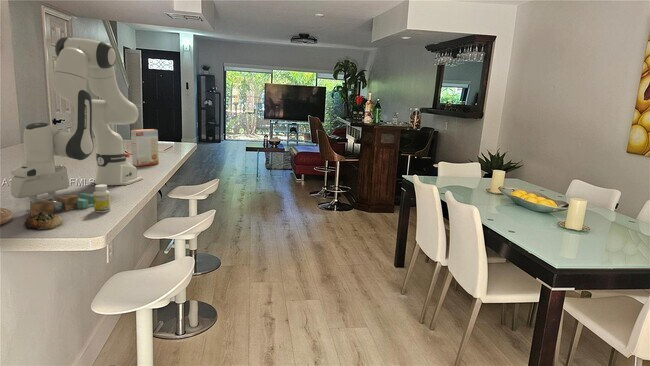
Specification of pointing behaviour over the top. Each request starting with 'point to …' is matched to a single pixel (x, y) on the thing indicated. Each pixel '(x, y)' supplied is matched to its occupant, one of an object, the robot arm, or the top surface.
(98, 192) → the supplement bottle
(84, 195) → the cradle
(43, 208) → the pair of brown blocks
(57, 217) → the bread roll
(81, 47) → the robot arm
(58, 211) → the axle
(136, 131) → the cracker box
